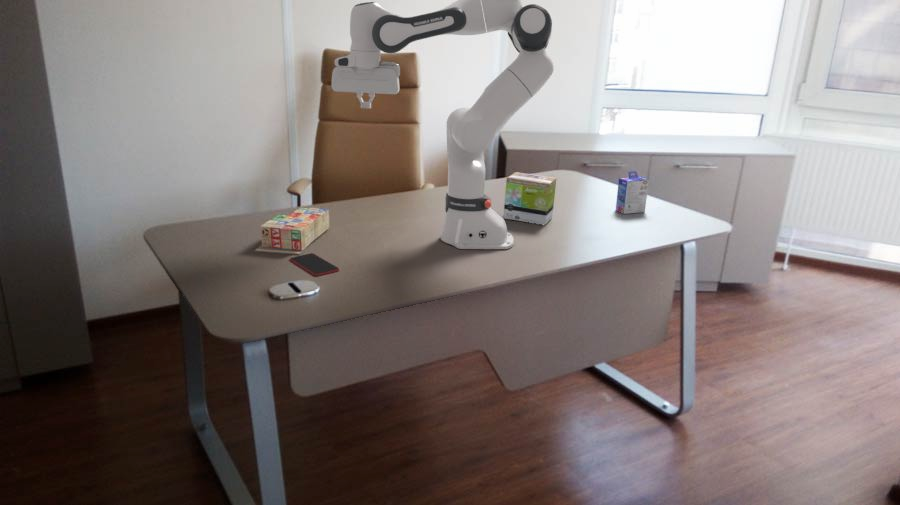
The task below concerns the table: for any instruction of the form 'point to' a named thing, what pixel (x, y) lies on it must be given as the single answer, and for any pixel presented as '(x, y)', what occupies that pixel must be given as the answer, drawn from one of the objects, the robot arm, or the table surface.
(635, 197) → the ink cartridge box
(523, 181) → the tea box
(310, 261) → the smartphone
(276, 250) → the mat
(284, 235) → the stack of blocks
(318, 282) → the table surface
